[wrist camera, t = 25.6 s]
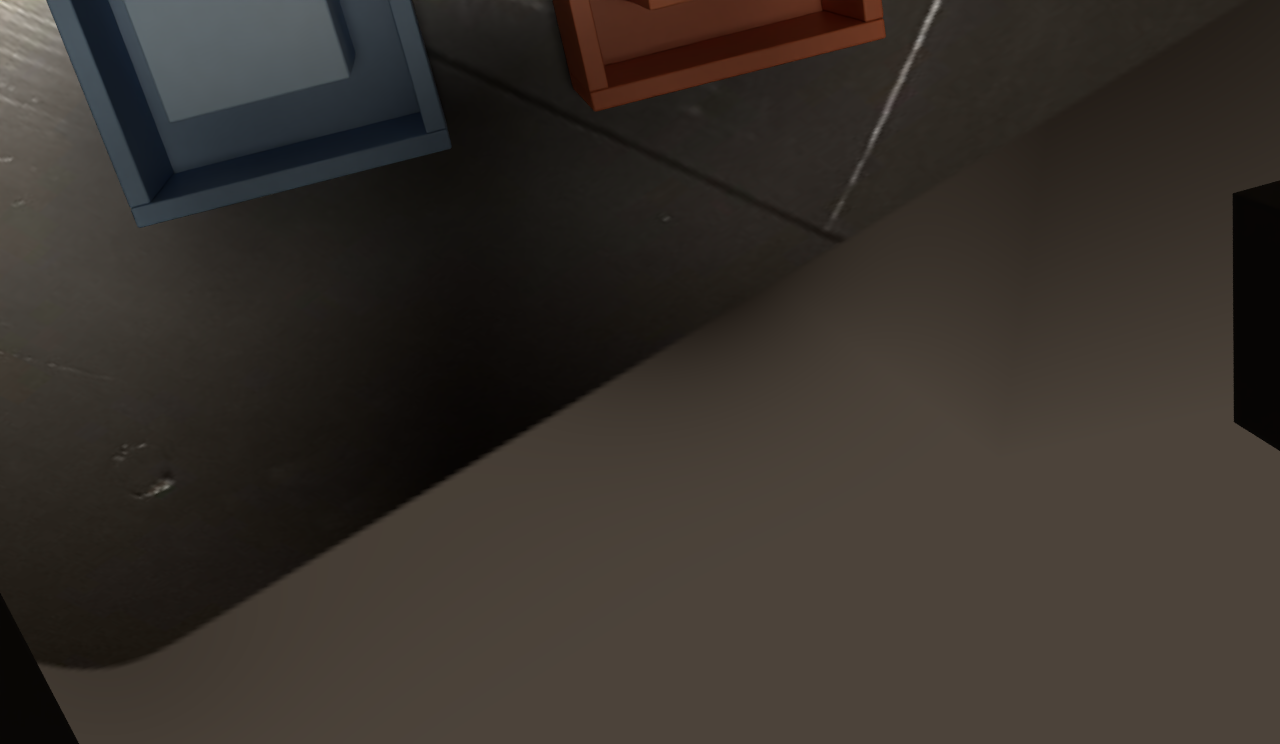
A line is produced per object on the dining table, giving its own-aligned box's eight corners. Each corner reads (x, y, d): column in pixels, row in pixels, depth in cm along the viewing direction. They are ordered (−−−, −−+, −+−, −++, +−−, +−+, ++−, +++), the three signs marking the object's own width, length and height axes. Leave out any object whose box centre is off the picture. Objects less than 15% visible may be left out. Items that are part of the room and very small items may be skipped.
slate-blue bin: (446, 121, 39) (452, 148, 35) (165, 192, 38) (137, 228, 34) (350, -220, 35) (344, -235, 30) (33, -149, 34) (-17, -155, 30)
